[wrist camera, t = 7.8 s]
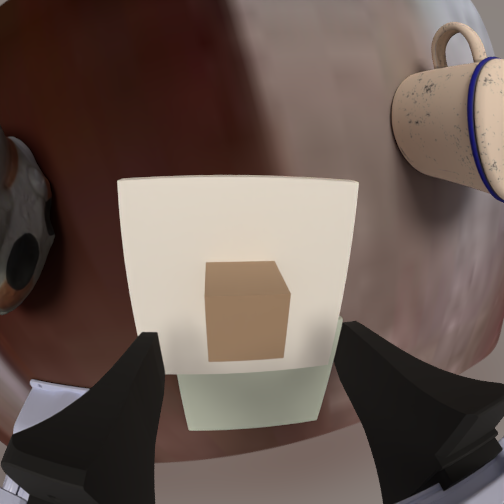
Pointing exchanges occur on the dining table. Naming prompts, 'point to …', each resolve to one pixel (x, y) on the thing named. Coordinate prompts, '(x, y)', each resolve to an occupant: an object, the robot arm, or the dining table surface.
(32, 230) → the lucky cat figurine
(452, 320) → the dining table surface
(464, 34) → the teacup with lid
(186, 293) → the cover plate
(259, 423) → the mat
